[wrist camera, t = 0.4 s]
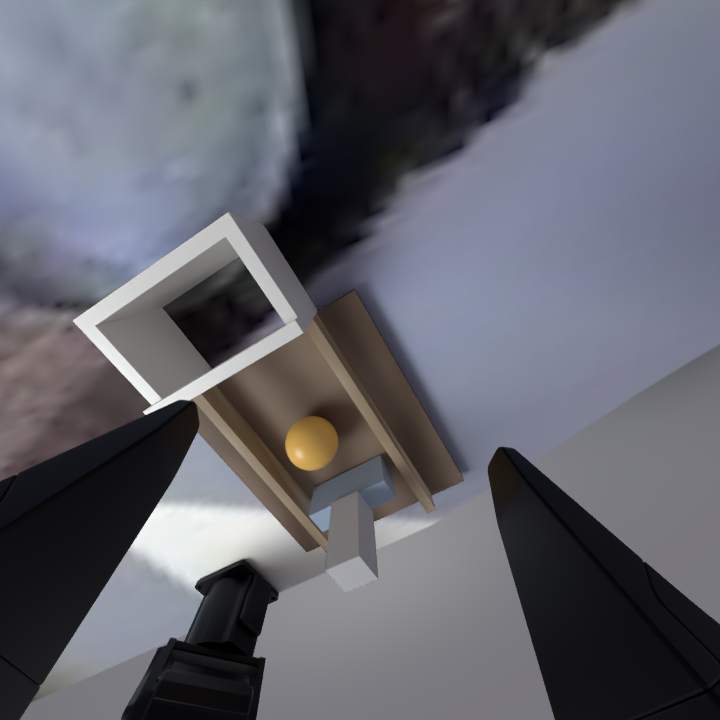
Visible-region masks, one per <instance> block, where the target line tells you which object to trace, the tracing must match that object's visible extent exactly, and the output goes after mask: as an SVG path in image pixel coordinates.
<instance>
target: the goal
mask: <svg viewBox="0 0 720 720" xmlns="http://www.w3.org/2000/svg"><path fill="white" fill-rule="evenodd" d="M238 257H240V258H241V260H242V261H243V263H244V264H245V266H246V267H247V268H248V270H249V271H250V273H251V274H252V276H253V277H254V279H255V280H256V282H257V283H258V285H259V286H260V288H261V289H262V290H263V292H264V293H265V295H266V296H267V298H268V299H269V301H270V302H271V304H272V305H273V307H274V308H275V309H276V311H277V312H278V314H279V315H280V317H281V318H282V320H283V321H284V323H285V324H286V325H284V326H282V327H281V328H279V329H277V330H276V331H274V332H272V333H271V334H269V335H267V336H266V337H264V338H262V339H261V340H259V341H258V342H256V343H254V344H253V345H251V346H249V347H248V348H246V349H244V350H243V351H241V352H239V353H238V354H236V355H234V356H233V357H231V358H229V359H228V360H226V361H224V362H223V363H221V364H219V365H218V366H216V367H214V368H213V369H212V368H211V367H210V366H209V364H208V363H207V362H206V361H205V359H204V358H203V357H202V356H201V354H200V353H199V352H198V351H197V350H196V348H195V347H194V346H193V345H192V343H191V342H190V341H189V340H188V339H187V337H186V336H185V335H184V334H183V332H182V331H181V330H180V329H179V327H178V326H177V325H176V324H175V323H174V321H173V320H172V319H171V318H170V316H169V315H168V314H167V313H166V312H165V310H164V309H163V307H164V306H166V305H167V304H169V303H170V302H172V301H173V300H175V299H176V298H178V297H179V296H181V295H182V294H184V293H185V292H187V291H188V290H190V289H191V288H193V287H195V286H196V285H198V284H199V283H201V282H202V281H204V280H205V279H207V278H208V277H210V276H211V275H213V274H214V273H216V272H217V271H219V270H220V269H222V268H223V267H225V266H226V265H228V264H229V263H231V262H232V261H234V260H235V259H237V258H238ZM317 312H318V310H317V308H316V307H315V305H314V304H313V302H312V300H311V299H310V297H309V296H308V294H307V293H306V291H305V289H304V288H303V286H302V285H301V283H300V282H299V280H298V278H297V277H296V275H295V274H294V272H293V270H292V269H291V267H290V266H289V264H288V263H287V261H286V259H285V258H284V256H283V255H282V253H281V252H280V250H279V248H278V247H277V245H276V244H275V242H274V240H273V239H272V237H271V236H270V234H269V233H268V231H267V229H266V228H265V226H264V225H262V224H260V223H257V222H254V221H251V220H248V219H246V218H243V217H240V216H237V215H234V214H232V213H229V212H228V213H227V214H225V215H224V216H222V217H221V218H219V219H218V220H216V221H215V222H214V223H212V224H211V225H209V226H208V227H206V228H205V229H204V230H202V231H201V232H199V233H198V234H196V235H195V236H194V237H192V238H191V239H189V240H188V241H186V242H185V243H183V244H182V245H181V246H179V247H178V248H176V249H175V250H173V251H172V252H171V253H169V254H168V255H166V256H165V257H163V258H162V259H161V260H159V261H158V262H156V263H155V264H153V265H152V266H151V267H149V268H148V269H146V270H145V271H143V272H142V273H140V274H139V275H138V276H136V277H135V278H133V279H132V280H130V281H129V282H128V283H126V284H125V285H123V286H122V287H120V288H119V289H118V290H116V291H115V292H113V293H112V294H110V295H109V296H107V297H106V298H105V299H103V300H102V301H100V302H99V303H97V304H96V305H95V306H93V307H92V308H90V309H89V310H87V311H86V312H85V313H83V314H82V315H80V316H79V317H77V318H76V319H74V320H73V322H74V323H75V324H76V325H77V326H78V327H79V328H80V329H81V330H82V331H83V332H84V333H85V334H86V335H87V337H88V338H89V339H90V340H91V341H92V342H93V343H94V344H95V345H96V346H97V347H98V348H99V349H100V350H101V351H102V353H103V354H104V355H105V356H106V357H107V358H108V359H109V360H110V361H111V362H112V363H113V364H114V365H115V366H116V367H117V369H118V370H119V371H120V372H121V373H122V374H123V375H124V376H125V377H126V378H127V379H128V380H129V381H130V382H131V383H132V385H133V386H134V387H135V388H136V389H137V390H138V391H139V392H140V393H141V394H142V395H143V396H144V397H145V398H146V400H147V401H148V402H149V403H150V404H151V406H150V407H149V408H147V409H146V410H145V411H143V413H144V414H145V415H147V414H149V413H151V412H153V411H156V410H158V409H160V408H162V407H164V406H166V405H169V404H171V403H173V402H175V401H178V400H191V399H193V398H194V397H196V396H198V395H200V394H201V393H203V392H205V391H206V390H208V389H210V388H211V387H213V386H215V385H216V384H218V383H220V382H222V381H223V380H225V379H227V378H228V377H230V376H232V375H233V374H235V373H237V372H238V371H240V370H242V369H244V368H245V367H247V366H249V365H250V364H252V363H254V362H255V361H257V360H259V359H260V358H262V357H264V356H266V355H267V354H269V353H271V352H272V351H274V350H276V349H277V348H279V347H281V346H282V345H284V344H286V343H288V342H289V341H291V340H293V339H294V338H296V337H298V336H299V335H301V334H303V333H304V332H305V330H306V328H307V327H308V325H309V324H310V322H311V321H312V319H313V318H314V316H315V315H316V313H317Z"/></svg>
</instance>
